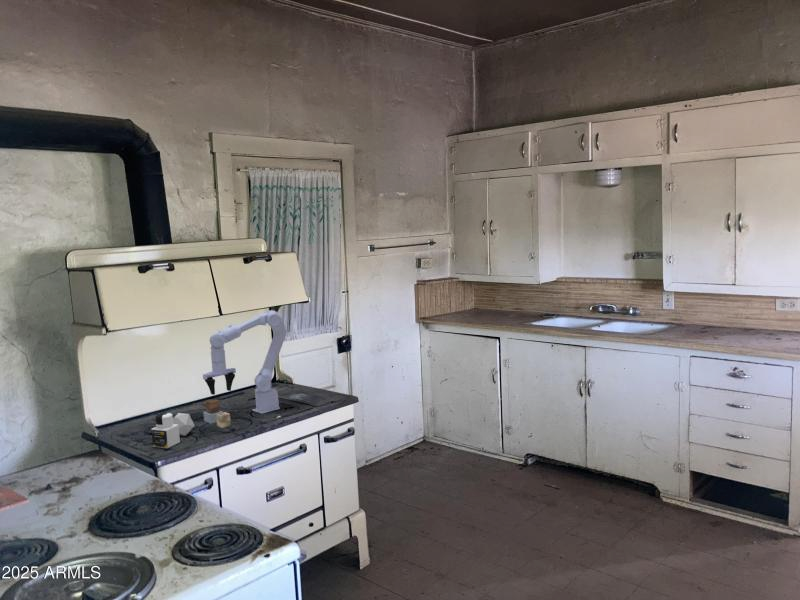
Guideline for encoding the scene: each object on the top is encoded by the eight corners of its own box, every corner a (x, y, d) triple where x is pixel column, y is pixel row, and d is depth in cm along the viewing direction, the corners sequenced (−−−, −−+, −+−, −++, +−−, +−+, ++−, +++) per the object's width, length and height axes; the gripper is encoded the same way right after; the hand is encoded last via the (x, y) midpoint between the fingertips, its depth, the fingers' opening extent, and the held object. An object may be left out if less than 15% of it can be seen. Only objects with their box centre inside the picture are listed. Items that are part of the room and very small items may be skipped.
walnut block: (219, 411, 274) (218, 400, 274) (211, 414, 271) (210, 402, 271) (214, 410, 277) (213, 398, 276) (206, 412, 274) (205, 400, 274)
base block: (217, 417, 279) (216, 408, 279) (223, 420, 275) (222, 411, 274) (204, 421, 275) (203, 412, 275) (210, 424, 271) (209, 414, 270)
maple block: (225, 423, 270) (224, 412, 269) (230, 425, 267) (229, 413, 266) (216, 426, 267) (216, 414, 266) (222, 428, 264) (221, 416, 264)
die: (199, 433, 261) (192, 410, 265) (190, 429, 252) (183, 405, 256) (179, 442, 260) (173, 419, 264) (170, 438, 252) (163, 414, 256)
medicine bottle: (152, 447, 245) (149, 416, 243) (165, 440, 251) (162, 410, 250) (167, 448, 242) (164, 417, 241) (180, 442, 249) (177, 411, 247)
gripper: (228, 357, 286) (231, 387, 288) (198, 363, 276) (200, 394, 278) (237, 359, 281) (239, 389, 283) (206, 365, 271) (209, 397, 273)
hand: (221, 392), depth 280 cm, fingers open, 7 cm apart
